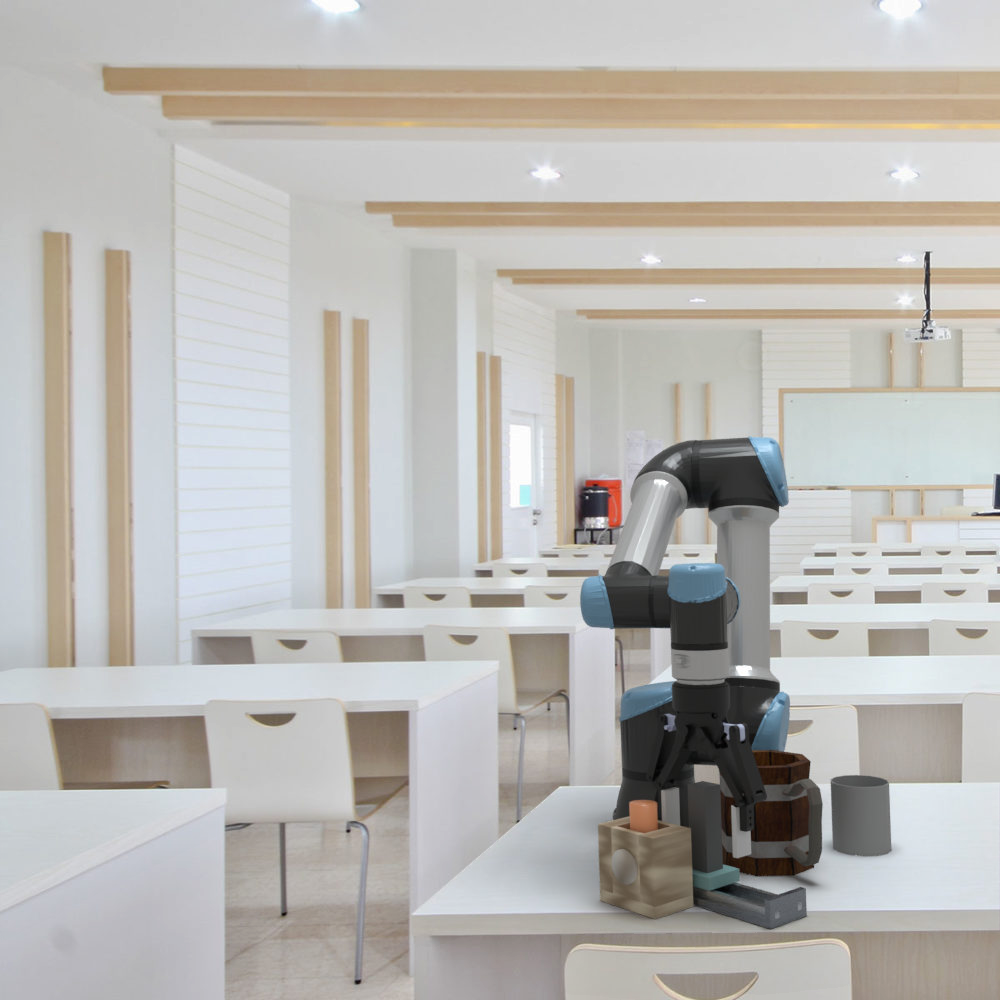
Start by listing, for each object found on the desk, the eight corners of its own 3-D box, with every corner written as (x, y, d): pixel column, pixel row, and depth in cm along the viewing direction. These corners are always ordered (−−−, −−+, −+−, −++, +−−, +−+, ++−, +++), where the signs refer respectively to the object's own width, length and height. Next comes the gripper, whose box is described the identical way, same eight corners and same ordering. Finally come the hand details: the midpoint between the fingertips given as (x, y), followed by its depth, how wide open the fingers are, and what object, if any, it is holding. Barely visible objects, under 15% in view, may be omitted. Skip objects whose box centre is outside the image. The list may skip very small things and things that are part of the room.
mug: (701, 857, 172) (697, 755, 173) (778, 845, 177) (775, 746, 178) (778, 895, 154) (774, 780, 154) (862, 881, 159) (858, 770, 159)
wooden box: (598, 901, 154) (595, 824, 154) (638, 889, 158) (635, 814, 158) (653, 919, 146) (650, 839, 146) (693, 906, 150) (691, 828, 151)
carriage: (674, 880, 154) (671, 784, 155) (705, 871, 158) (702, 777, 158) (708, 890, 150) (705, 791, 150) (739, 880, 153) (736, 784, 154)
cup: (894, 857, 170) (891, 787, 170) (835, 855, 171) (833, 786, 172) (887, 841, 178) (884, 775, 178) (831, 839, 180) (828, 774, 180)
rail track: (662, 895, 155) (661, 869, 155) (698, 883, 160) (697, 858, 160) (770, 929, 141) (769, 900, 141) (806, 915, 146) (805, 888, 146)
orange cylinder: (625, 864, 152) (623, 803, 153) (644, 859, 155) (643, 798, 155) (645, 870, 150) (643, 807, 150) (664, 864, 152) (662, 802, 152)
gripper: (616, 675, 161) (621, 834, 161) (753, 691, 143) (759, 871, 142) (654, 670, 166) (659, 824, 166) (791, 685, 147) (797, 859, 147)
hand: (705, 846), depth 154 cm, fingers open, 11 cm apart
